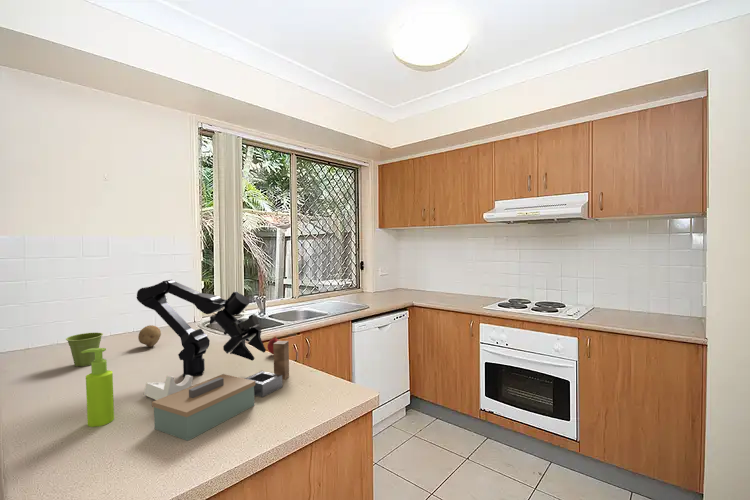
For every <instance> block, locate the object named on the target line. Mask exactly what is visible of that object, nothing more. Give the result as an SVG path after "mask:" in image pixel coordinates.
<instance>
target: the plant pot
mask: <svg viewBox="0 0 750 500" xmlns="http://www.w3.org/2000/svg"><path fill="white" fill-rule="evenodd" d="M103 335H104V333H103V332H86V333H85V332H84V333H80V334H74V335H70V336H68V337H66V338H65V340H66V341H67V343H68V346H69V348H70V351H71V356H72V360H73V363H74V366H75V367H88V366H91V362H92V361H94V360H95V352H86V353H81V352H82V351H84V350H87V349H91V348H100V344H101V341H102V337H103Z"/></svg>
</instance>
